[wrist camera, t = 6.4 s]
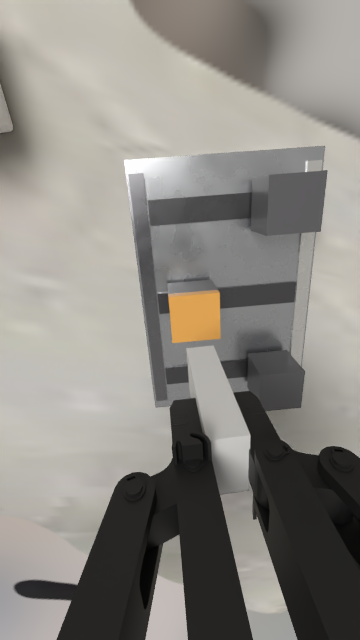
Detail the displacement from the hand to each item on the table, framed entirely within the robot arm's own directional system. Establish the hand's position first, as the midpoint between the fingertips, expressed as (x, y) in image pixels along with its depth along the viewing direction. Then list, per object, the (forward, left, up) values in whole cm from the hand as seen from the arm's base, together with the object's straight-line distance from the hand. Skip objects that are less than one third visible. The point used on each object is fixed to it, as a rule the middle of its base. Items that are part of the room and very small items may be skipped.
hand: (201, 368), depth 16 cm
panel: (+4, 0, -14) cm, 14 cm away
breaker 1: (+8, +8, -12) cm, 16 cm away
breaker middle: (+1, 0, -12) cm, 12 cm away
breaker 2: (+8, -8, -12) cm, 16 cm away
